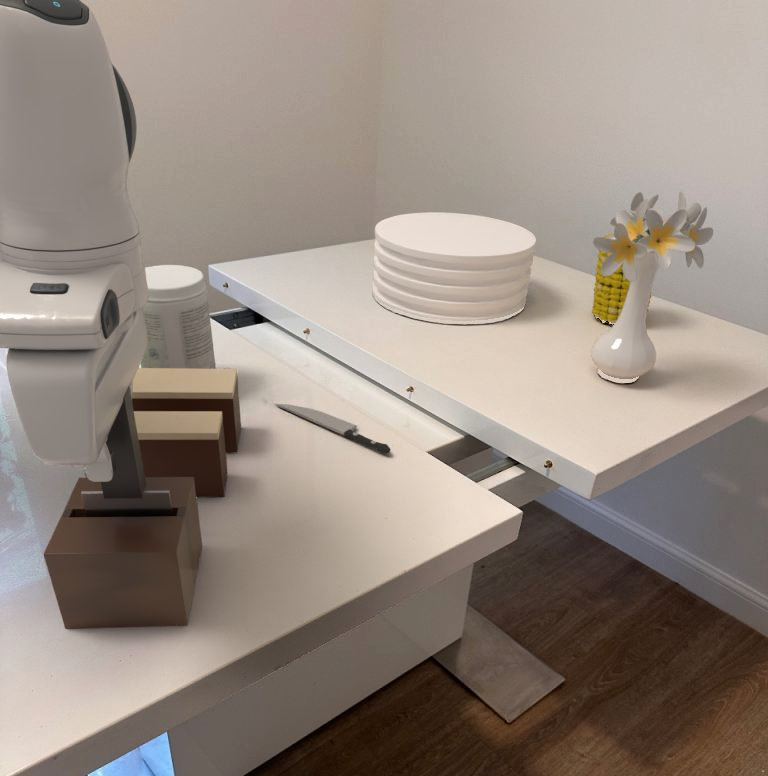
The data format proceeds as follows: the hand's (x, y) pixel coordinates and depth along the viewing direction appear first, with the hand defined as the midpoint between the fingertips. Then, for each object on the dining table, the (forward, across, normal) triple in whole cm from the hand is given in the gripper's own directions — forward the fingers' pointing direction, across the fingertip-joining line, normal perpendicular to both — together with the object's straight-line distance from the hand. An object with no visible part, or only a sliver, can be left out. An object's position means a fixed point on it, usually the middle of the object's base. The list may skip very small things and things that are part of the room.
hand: (112, 452), depth 56 cm
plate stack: (+14, -78, +41) cm, 89 cm away
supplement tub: (+14, -41, -2) cm, 43 cm away
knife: (+14, 0, 0) cm, 14 cm away
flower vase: (+14, -44, +61) cm, 77 cm away
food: (+14, -68, +69) cm, 98 cm away
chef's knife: (+14, -29, +19) cm, 37 cm away
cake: (+14, -26, +1) cm, 29 cm away
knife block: (+14, 0, 0) cm, 14 cm away
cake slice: (+14, -16, 0) cm, 21 cm away
